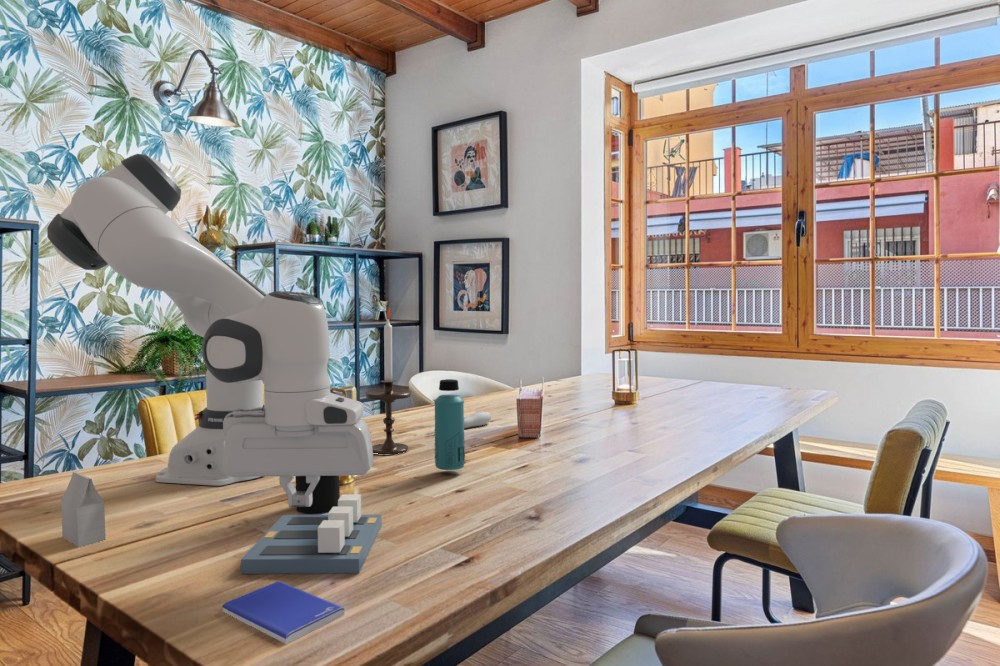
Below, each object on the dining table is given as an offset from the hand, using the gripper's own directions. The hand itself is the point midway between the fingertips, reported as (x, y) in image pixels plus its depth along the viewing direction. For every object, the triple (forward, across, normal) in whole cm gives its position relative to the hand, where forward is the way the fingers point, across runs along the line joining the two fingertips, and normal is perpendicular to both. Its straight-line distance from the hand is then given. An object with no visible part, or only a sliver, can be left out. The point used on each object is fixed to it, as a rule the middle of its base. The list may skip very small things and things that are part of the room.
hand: (300, 505), depth 92 cm
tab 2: (+6, +4, +5) cm, 9 cm away
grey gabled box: (+8, -36, +10) cm, 39 cm away
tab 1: (+6, +5, +11) cm, 14 cm away
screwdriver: (+10, +19, +91) cm, 93 cm away
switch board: (+8, +1, +5) cm, 10 cm away
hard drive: (+9, +2, -15) cm, 17 cm away
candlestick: (+9, +3, +66) cm, 67 cm away
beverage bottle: (+9, +18, +46) cm, 50 cm away
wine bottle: (+9, -4, +24) cm, 26 cm away
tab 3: (+6, +4, -1) cm, 7 cm away
